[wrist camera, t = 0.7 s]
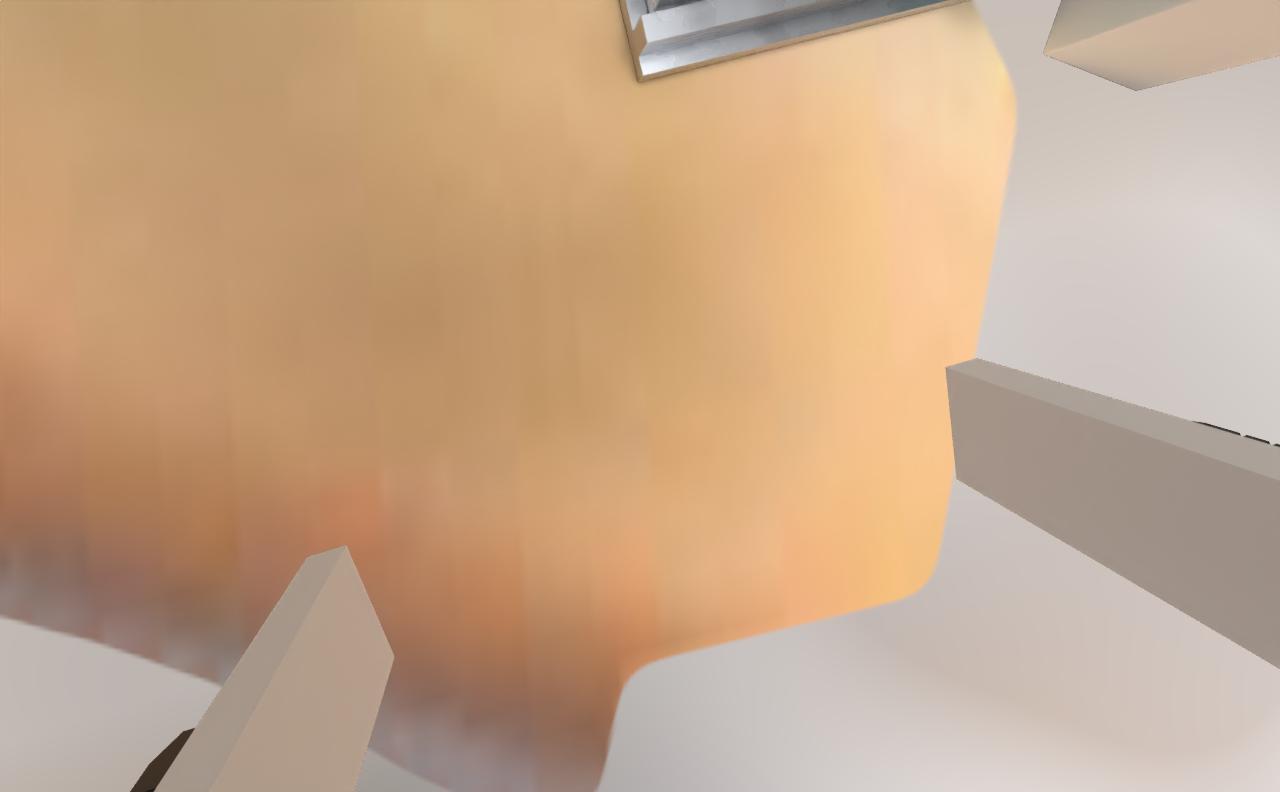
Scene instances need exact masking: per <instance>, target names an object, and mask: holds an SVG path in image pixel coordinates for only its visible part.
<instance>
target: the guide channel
mask: <svg viewBox="0 0 1280 792" xmlns="http://www.w3.org/2000/svg"><path fill="white" fill-rule="evenodd" d="M966 1H970V0H705V1H700V2H696V3H692V4H688V5H683V6H679V7H675V8H671V9H667V10H662V11H658V12H654V13H650V14H649V9H648V5H647V1H646V0H619V2H620V6H621V10H622V15H623V19H624V23H625V27H626V32H627V36H628V40H629V44H630V49H631V53H632V57H633V61H634V66H635V70H636V74H637V78H638V82H642V81H646V80H650V79H654V78H658V77H662V76H666V75H670V74H674V73H678V72H682V71H686V70H690V69H695V68H699V67H703V66H707V65H711V64H715V63H719V62H723V61H727V60H731V59H735V58H739V57H743V56H747V55H751V54H755V53H759V52H763V51H767V50H771V49H775V48H780V47H784V46H788V45H792V44H796V43H800V42H804V41H808V40H812V39H816V38H820V37H824V36H828V35H832V34H836V33H840V32H844V31H848V30H852V29H856V28H860V27H864V26H869V25H873V24H877V23H881V22H885V21H889V20H893V19H897V18H901V17H905V16H909V15H913V14H917V13H921V12H925V11H929V10H933V9H937V8H941V7H945V6H949V5H953V4H958V3H962V2H966Z"/></svg>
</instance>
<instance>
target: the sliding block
mask: <svg viewBox="0 0 1280 792" xmlns="http://www.w3.org/2000/svg"><path fill="white" fill-rule="evenodd" d="M646 1H647V5H648V9H649V14H650V13H654V12H658V11H662V10H667V9H671V8H675V7H679V6H683V5H688V4H692V3H696V2H700V1H705V0H646Z"/></svg>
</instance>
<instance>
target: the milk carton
mask: <svg viewBox="0 0 1280 792" xmlns="http://www.w3.org/2000/svg"><path fill="white" fill-rule="evenodd" d="M1044 54H1045V55H1046V56H1049V57H1051V58H1054V59H1056V60H1059V61H1061V62H1064V63H1067V64H1069V65H1072V66H1074V67H1077V68H1079V69H1082V70H1084V71H1087V72H1089V73H1092V74H1095V75H1097V76H1099V77H1102V78H1105V79H1107V80H1109V81H1112V82H1115V83H1117V84H1120V85H1122V86H1125V87H1127V88H1130V89H1132V90H1135V91H1137V90H1142V89H1146V88H1150V87H1154V86H1159V85H1163V84H1167V83H1171V82H1175V81H1179V80H1183V79H1187V78H1191V77H1195V76H1199V75H1203V74H1207V73H1212V72H1215V71H1219V70H1224V69H1228V68H1232V67H1236V66H1240V65H1244V64H1248V63H1252V62H1256V61H1261V60H1265V59H1269V58H1273V57H1277V56H1280V0H1061V3H1060V6H1059V9H1058V12H1057V14H1056V17H1055V20H1054V23H1053V26H1052V29H1051V32H1050V34H1049V37H1048V40H1047V43H1046V46H1045V49H1044Z"/></svg>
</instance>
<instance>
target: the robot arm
mask: <svg viewBox="0 0 1280 792" xmlns="http://www.w3.org/2000/svg"><path fill="white" fill-rule="evenodd" d="M945 368H946V378H947V388H948V398H949V407H950V417H951V427H952V437H953V447H954V457H955V467H956V477H957V480H959V481H961V482H963V483H964V484H966V485H968V486H969V487H971V488H973V489H974V490H976V491H978V492H980V493H982V494H983V495H985V496H987V497H988V498H990V499H992V500H993V501H995V502H997V503H998V504H1000V505H1002V506H1003V507H1005V508H1007V509H1009V510H1010V511H1012V512H1014V513H1015V514H1017V515H1019V516H1021V517H1022V518H1024V519H1026V520H1027V521H1029V522H1031V523H1032V524H1034V525H1036V526H1038V527H1039V528H1041V529H1043V530H1044V531H1046V532H1048V533H1049V534H1051V535H1053V536H1054V537H1056V538H1058V539H1060V540H1061V541H1063V542H1065V543H1066V544H1068V545H1070V546H1071V547H1073V548H1075V549H1077V550H1078V551H1080V552H1082V553H1083V554H1085V555H1087V556H1089V557H1090V558H1092V559H1094V560H1095V561H1097V562H1099V563H1100V564H1102V565H1104V566H1106V567H1107V568H1109V569H1111V570H1112V571H1114V572H1116V573H1117V574H1119V575H1121V576H1123V577H1124V578H1126V579H1128V580H1129V581H1131V582H1133V583H1134V584H1136V585H1138V586H1140V587H1141V588H1143V589H1145V590H1146V591H1148V592H1150V593H1152V594H1153V595H1155V596H1157V597H1158V598H1160V599H1162V600H1163V601H1165V602H1167V603H1168V604H1170V605H1172V606H1174V607H1175V608H1177V609H1179V610H1180V611H1182V612H1184V613H1185V614H1187V615H1189V616H1191V617H1192V618H1194V619H1196V620H1197V621H1200V622H1201V623H1202V624H1205V625H1206V626H1208V627H1209V628H1211V629H1213V630H1215V631H1216V632H1218V633H1220V634H1221V635H1223V636H1225V637H1226V638H1228V639H1230V640H1231V641H1233V642H1235V643H1237V644H1238V645H1240V646H1242V647H1243V648H1245V649H1247V650H1248V651H1250V652H1252V653H1254V654H1255V655H1257V656H1259V657H1260V658H1262V659H1264V660H1265V661H1267V662H1269V663H1271V664H1272V665H1274V666H1276V667H1277V668H1279V669H1280V445H1279V444H1275V445H1271V444H1270V443H1269V441H1265V440H1262V439H1258V438H1255V437H1252V436H1248V435H1246V436H1241V435H1240V433H1238V432H1234V431H1231V430H1228V429H1224V428H1221V427H1217V426H1214V425H1210V424H1207V423H1202V422H1194V421H1189V420H1186V419H1182V418H1179V417H1175V416H1172V415H1168V414H1165V413H1162V412H1158V411H1155V410H1152V409H1148V408H1145V407H1141V406H1138V405H1135V404H1131V403H1127V402H1124V401H1121V400H1117V399H1114V398H1110V397H1107V396H1104V395H1101V394H1097V393H1094V392H1090V391H1087V390H1084V389H1080V388H1077V387H1073V386H1070V385H1066V384H1063V383H1060V382H1056V381H1053V380H1050V379H1046V378H1043V377H1039V376H1035V375H1033V374H1029V373H1026V372H1022V371H1019V370H1016V369H1012V368H1009V367H1005V366H1002V365H999V364H995V363H992V362H988V361H985V360H982V359H978V358H976V359H972V360H969V361H966V362H962V363H959V364H955V365H952V366H949V367H945ZM393 660H394V655H393V652H392V650H391V648H390V645H389V643H388V641H387V638H386V636H385V634H384V631H383V629H382V627H381V624H380V622H379V620H378V618H377V615H376V613H375V611H374V608H373V606H372V604H371V601H370V599H369V597H368V594H367V592H366V590H365V587H364V585H363V583H362V580H361V578H360V576H359V573H358V571H357V569H356V566H355V564H354V562H353V559H352V557H351V555H350V553H349V550H348V548H347V546H346V545H345V546H342V547H338V548H335V549H332V550H328V551H325V552H321V553H318V554H315V555H311V556H308V557H307V558H306V560H305V561H304V563H303V564H302V566H301V567H300V569H299V570H298V572H297V573H296V575H295V577H294V578H293V580H292V581H291V583H290V584H289V586H288V587H287V589H286V590H285V592H284V593H283V595H282V596H281V598H280V599H279V601H278V603H277V604H276V606H275V607H274V609H273V610H272V612H271V613H270V615H269V616H268V618H267V619H266V621H265V622H264V624H263V625H262V627H261V629H260V630H259V632H258V633H257V635H256V636H255V638H254V639H253V641H252V642H251V644H250V645H249V647H248V648H247V650H246V651H245V653H244V655H243V656H242V658H241V659H240V661H239V662H238V664H237V665H236V667H235V668H234V670H233V671H232V673H231V674H230V676H229V677H228V679H227V681H226V682H225V684H224V685H223V687H222V688H221V690H220V691H219V693H218V694H217V696H216V697H215V699H214V700H213V702H212V703H211V705H210V707H209V708H208V710H207V711H206V713H205V714H204V716H203V717H202V719H201V721H200V722H199V723H198V725H197V726H196V728H193V729H190V730H187V731H183V732H182V733H181V734H180V735H179V736H178V737H177V738H176V739H175V740H174V741H173V742H172V743H171V744H170V745H169V746H168V747H167V748H166V749H165V750H163V751H162V752H161V753H160V754H159V755H158V756H157V757H156V758H155V759H154V760H153V761H152V762H151V763H150V764H149V765H148V767H147V768H146V770H145V771H144V773H143V774H142V776H141V777H140V778H139V780H138V781H137V783H136V784H135V786H134V787H133V788H132V790H131V791H130V792H354V790H355V787H356V783H357V780H358V777H359V773H360V770H361V767H362V763H363V760H364V757H365V753H366V750H367V747H368V743H369V740H370V737H371V733H372V730H373V727H374V723H375V720H376V717H377V714H378V710H379V707H380V704H381V700H382V697H383V694H384V690H385V687H386V684H387V680H388V677H389V674H390V670H391V667H392V664H393Z"/></svg>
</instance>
